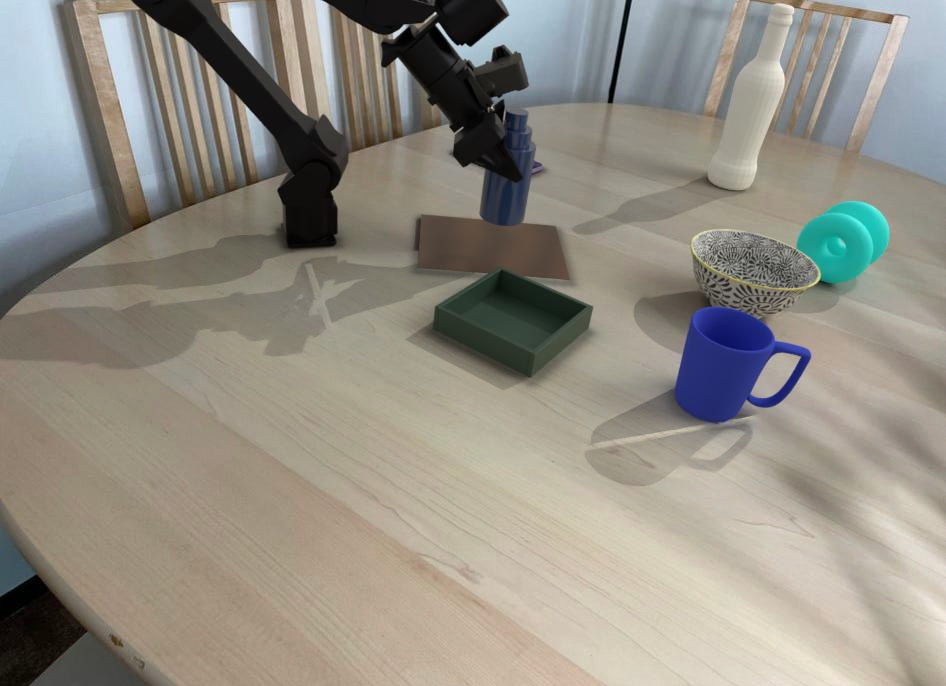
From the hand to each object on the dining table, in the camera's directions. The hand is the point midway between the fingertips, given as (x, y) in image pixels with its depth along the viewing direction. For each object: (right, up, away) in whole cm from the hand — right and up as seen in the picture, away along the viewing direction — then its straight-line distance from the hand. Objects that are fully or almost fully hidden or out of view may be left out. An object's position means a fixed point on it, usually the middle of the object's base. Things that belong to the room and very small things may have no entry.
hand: (519, 170), depth 95 cm
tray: (-1, -21, -8) cm, 22 cm away
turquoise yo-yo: (+46, -12, +14) cm, 50 cm away
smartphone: (-2, +10, +36) cm, 38 cm away
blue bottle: (-2, -5, +4) cm, 7 cm away
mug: (+21, -29, -16) cm, 39 cm away
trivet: (-3, -9, +9) cm, 13 cm away
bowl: (+29, -17, +3) cm, 34 cm away
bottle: (+40, +7, +40) cm, 57 cm away
